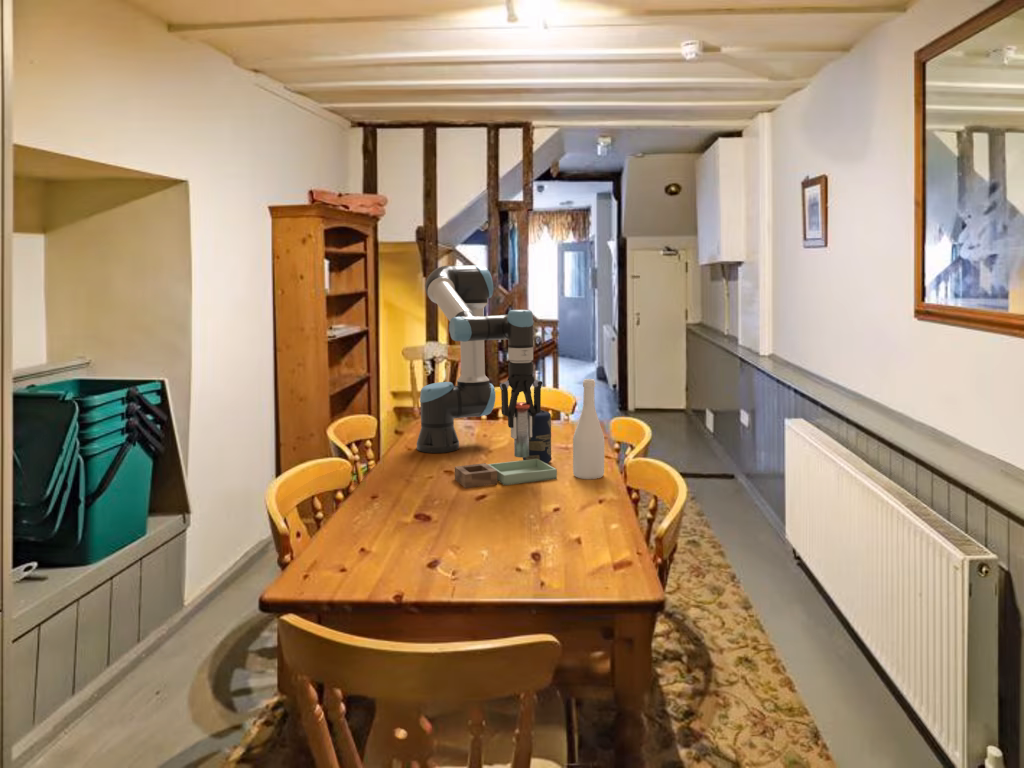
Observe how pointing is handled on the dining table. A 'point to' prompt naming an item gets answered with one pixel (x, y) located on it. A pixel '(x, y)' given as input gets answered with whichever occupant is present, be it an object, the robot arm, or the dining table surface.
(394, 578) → the dining table surface
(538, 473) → the tray
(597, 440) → the wine bottle
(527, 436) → the pin
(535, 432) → the canister
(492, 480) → the socket block
